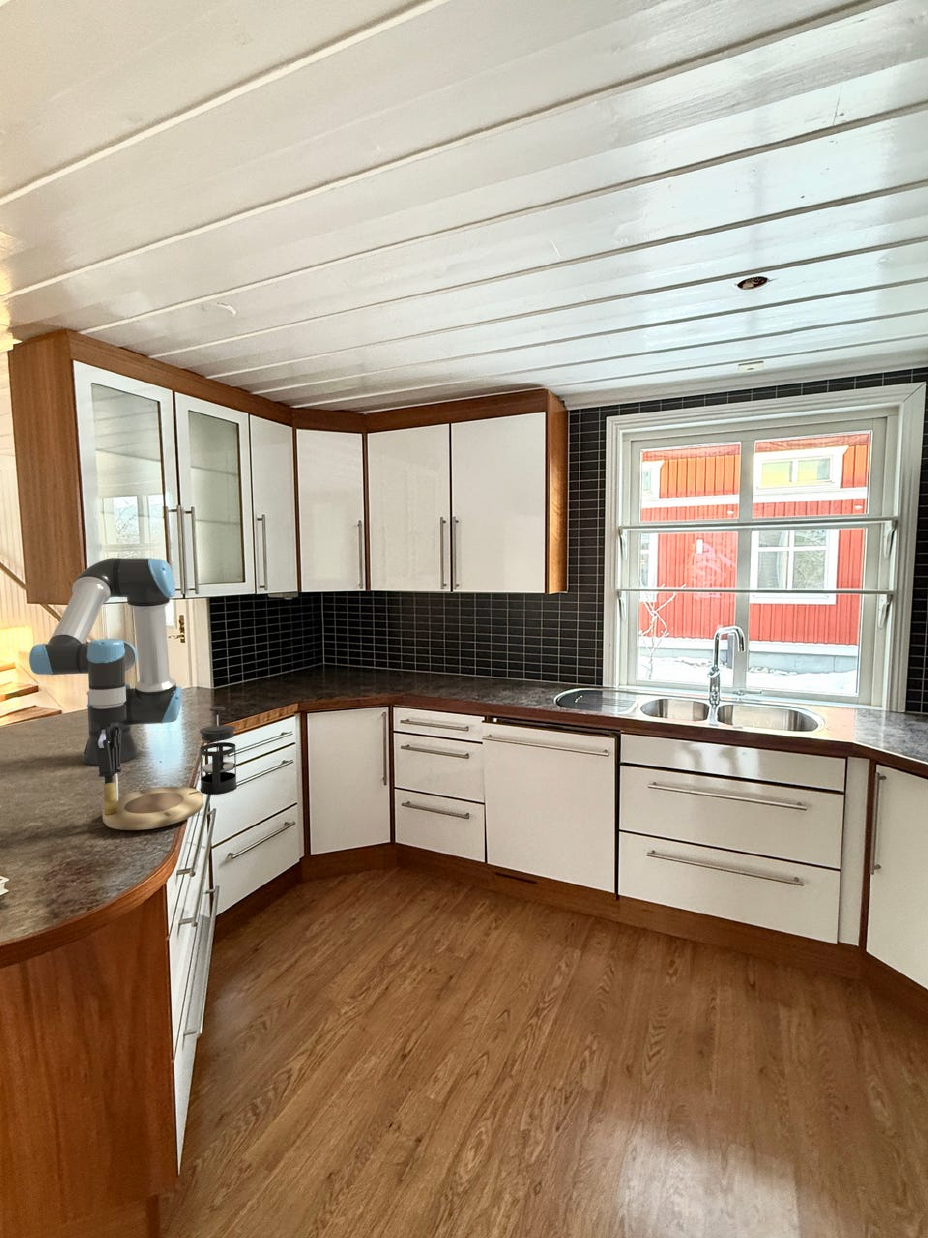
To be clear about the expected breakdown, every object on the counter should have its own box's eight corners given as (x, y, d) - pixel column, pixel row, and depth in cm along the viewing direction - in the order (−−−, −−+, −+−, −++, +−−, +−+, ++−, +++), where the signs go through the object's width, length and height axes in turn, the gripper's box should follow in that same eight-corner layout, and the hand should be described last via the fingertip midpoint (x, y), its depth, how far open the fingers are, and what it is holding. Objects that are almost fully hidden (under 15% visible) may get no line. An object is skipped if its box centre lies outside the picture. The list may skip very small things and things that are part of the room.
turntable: (185, 787, 163) (184, 755, 162) (217, 812, 147) (216, 776, 147) (92, 809, 148) (91, 773, 147) (117, 838, 132) (115, 799, 131)
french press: (203, 783, 170) (201, 704, 168) (238, 780, 173) (237, 702, 171) (197, 799, 159) (195, 713, 157) (235, 795, 161) (233, 711, 160)
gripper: (98, 699, 147) (102, 792, 149) (80, 711, 135) (84, 813, 137) (132, 698, 149) (135, 790, 151) (117, 710, 137) (120, 810, 139)
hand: (111, 800), depth 144 cm, fingers closed
